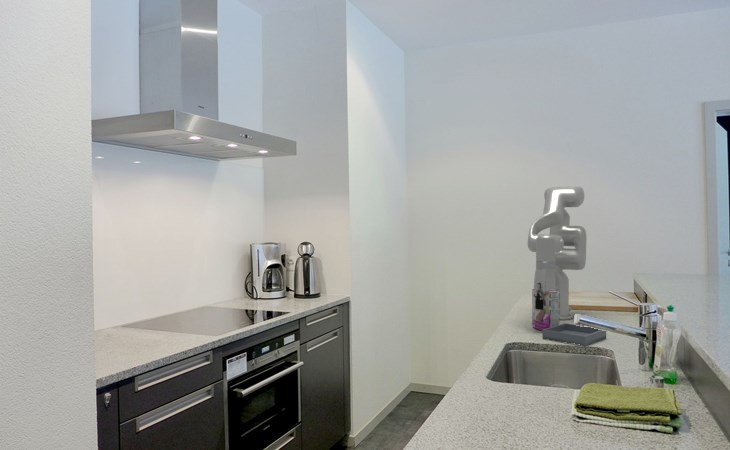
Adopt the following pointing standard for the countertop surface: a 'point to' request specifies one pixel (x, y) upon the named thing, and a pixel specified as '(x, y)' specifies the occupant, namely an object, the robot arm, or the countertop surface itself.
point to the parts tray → (574, 334)
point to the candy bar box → (546, 311)
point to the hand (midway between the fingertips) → (545, 308)
